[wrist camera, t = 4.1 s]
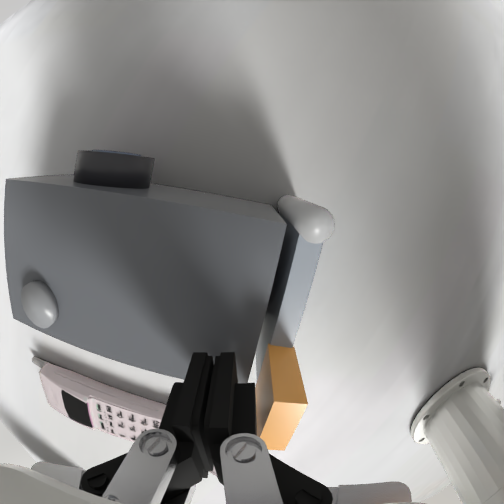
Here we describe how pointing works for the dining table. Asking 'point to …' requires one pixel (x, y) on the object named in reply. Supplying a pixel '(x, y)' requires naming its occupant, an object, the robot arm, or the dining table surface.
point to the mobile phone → (99, 403)
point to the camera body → (139, 264)
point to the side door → (288, 321)
